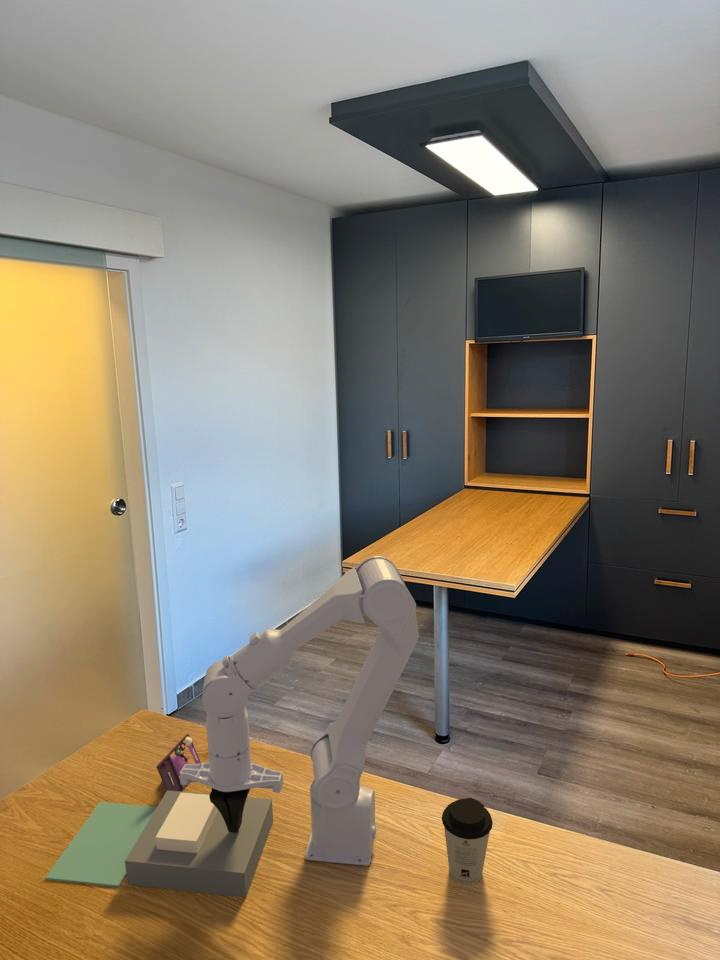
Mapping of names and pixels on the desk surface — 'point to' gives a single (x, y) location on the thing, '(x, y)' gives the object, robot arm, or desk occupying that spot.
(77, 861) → the mat
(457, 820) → the coffee cup
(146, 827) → the plate
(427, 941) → the desk surface
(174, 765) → the game card
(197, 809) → the beige rectangular block
